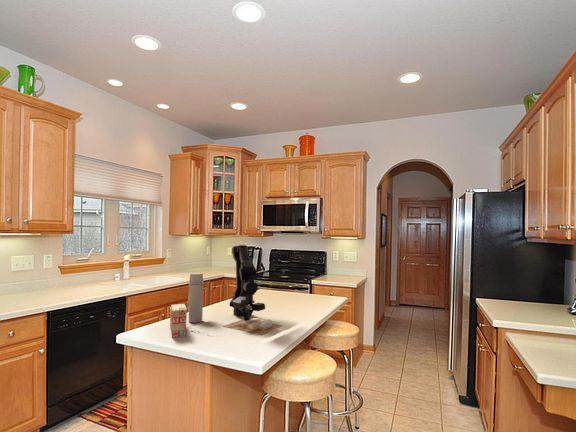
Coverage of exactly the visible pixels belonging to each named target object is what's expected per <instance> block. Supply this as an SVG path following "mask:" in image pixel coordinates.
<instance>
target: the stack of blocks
mask: <svg viewBox="0 0 576 432" xmlns="http://www.w3.org/2000/svg"><path fill="white" fill-rule="evenodd" d="M186 306H187V305H186V304H185V303H177V304H171V306H170V307H169V319H170V321H169V326H170V333H171V334H170V335H171V339H172V338H181V337H186V336H187V320H188V319H187V315H188V313H187V312H188V311H187V307H186Z"/></svg>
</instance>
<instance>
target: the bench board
mask: <svg viewBox="0 0 576 432" xmlns="http://www.w3.org/2000/svg"><path fill="white" fill-rule="evenodd" d="M250 319H251V318H250ZM250 319H249V320H250ZM244 321H245V319H244V318H243V319H241V320H238V321H233V322H232V323H228V324H225V325H222V328H226V329H233V330H235V331H241V332H247V333H251V334H254V335H260V336H263V335H266V334H268V333H271V332H273V331H275V330H277V329H280V328H282V327H284V325H281V324H277V323H272V328H269V329H267V330H264V331H262V330H261V327H259V328H257V329H254V330H251V329H247V328H242V322H244Z"/></svg>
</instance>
